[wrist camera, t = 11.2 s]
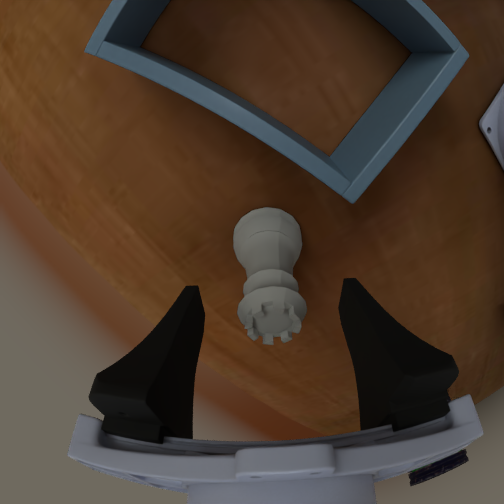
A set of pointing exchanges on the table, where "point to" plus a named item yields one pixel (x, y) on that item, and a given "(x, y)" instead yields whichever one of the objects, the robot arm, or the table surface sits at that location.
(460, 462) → the dark disc stack
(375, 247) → the table surface
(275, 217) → the rook chess piece
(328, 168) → the box
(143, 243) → the table surface
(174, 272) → the table surface
